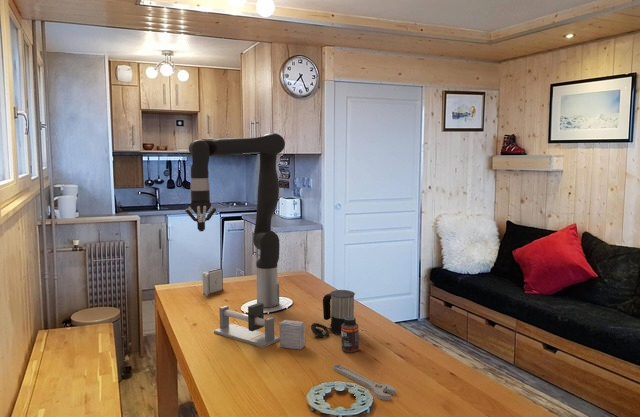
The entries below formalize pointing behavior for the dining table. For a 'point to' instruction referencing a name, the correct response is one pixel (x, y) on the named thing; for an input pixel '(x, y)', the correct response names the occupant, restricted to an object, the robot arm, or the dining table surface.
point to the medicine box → (292, 334)
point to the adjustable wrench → (367, 383)
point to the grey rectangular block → (212, 281)
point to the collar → (255, 315)
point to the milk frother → (335, 311)
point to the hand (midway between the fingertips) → (201, 231)
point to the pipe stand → (243, 332)
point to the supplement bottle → (350, 335)
